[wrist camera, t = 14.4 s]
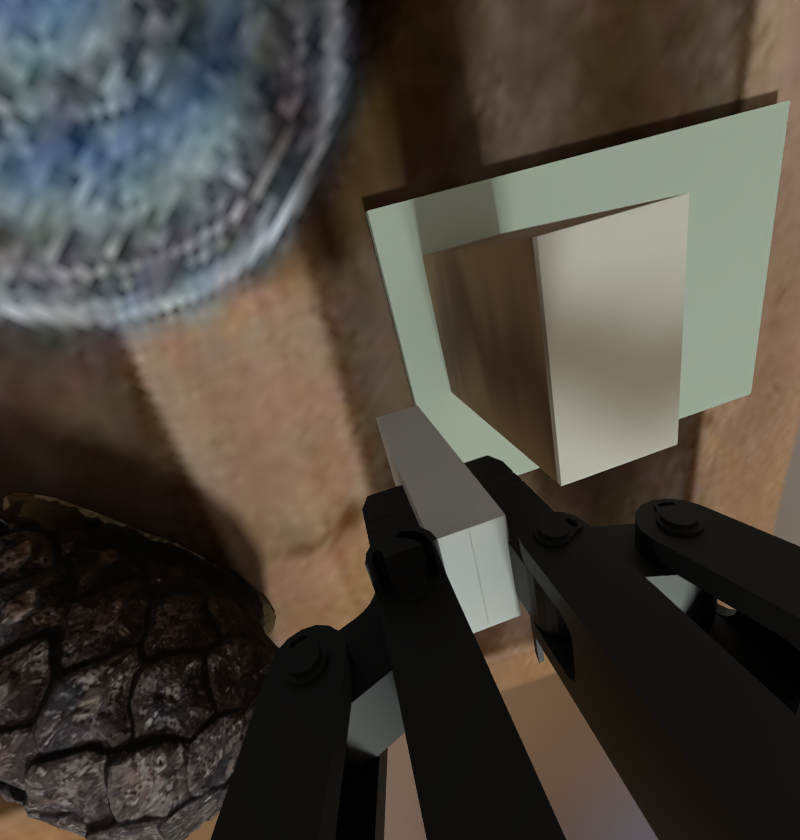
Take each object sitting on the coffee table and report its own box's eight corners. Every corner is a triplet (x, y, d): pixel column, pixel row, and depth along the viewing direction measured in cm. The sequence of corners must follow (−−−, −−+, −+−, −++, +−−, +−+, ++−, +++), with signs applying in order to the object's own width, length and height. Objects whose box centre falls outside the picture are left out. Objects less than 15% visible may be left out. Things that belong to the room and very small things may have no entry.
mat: (365, 212, 17) (367, 210, 17) (776, 104, 19) (790, 100, 19) (437, 497, 24) (440, 502, 23) (741, 391, 26) (750, 393, 25)
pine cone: (7, 447, 18) (-323, 634, 8) (322, 592, 24) (328, 783, 15) (-94, 601, 19) (-466, 902, 10) (229, 698, 26) (184, 929, 17)
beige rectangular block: (421, 255, 18) (537, 236, 9) (500, 233, 18) (689, 192, 9) (451, 392, 21) (561, 485, 11) (518, 370, 21) (677, 444, 12)
